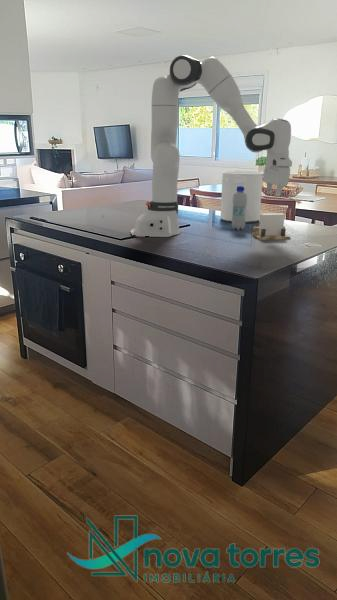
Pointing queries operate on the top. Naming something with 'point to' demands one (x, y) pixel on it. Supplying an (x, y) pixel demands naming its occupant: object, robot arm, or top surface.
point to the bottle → (239, 208)
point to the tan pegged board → (269, 237)
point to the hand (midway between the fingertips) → (273, 195)
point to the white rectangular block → (271, 223)
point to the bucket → (251, 188)
